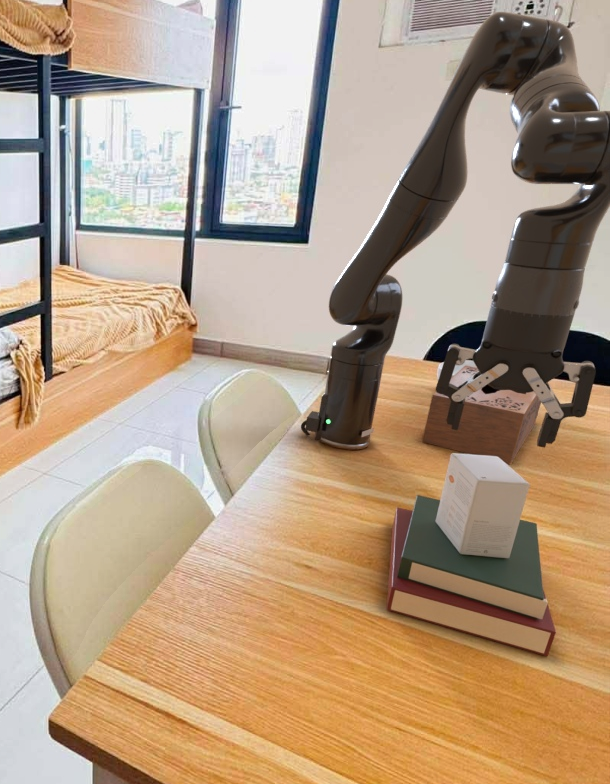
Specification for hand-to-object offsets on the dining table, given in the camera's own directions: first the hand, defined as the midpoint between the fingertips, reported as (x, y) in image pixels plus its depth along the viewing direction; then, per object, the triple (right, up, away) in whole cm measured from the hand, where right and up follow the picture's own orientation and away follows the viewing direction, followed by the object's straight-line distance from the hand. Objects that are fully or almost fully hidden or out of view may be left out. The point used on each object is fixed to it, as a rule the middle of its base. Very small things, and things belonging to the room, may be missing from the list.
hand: (496, 436), depth 76 cm
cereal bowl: (+48, +4, +71) cm, 86 cm away
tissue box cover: (+36, -3, +52) cm, 64 cm away
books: (0, -20, +7) cm, 21 cm away
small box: (0, -14, +5) cm, 15 cm away
